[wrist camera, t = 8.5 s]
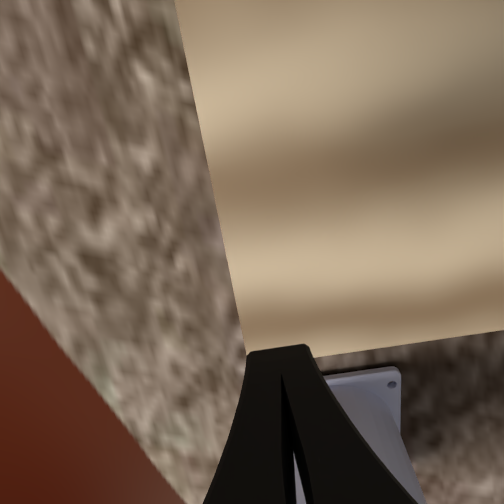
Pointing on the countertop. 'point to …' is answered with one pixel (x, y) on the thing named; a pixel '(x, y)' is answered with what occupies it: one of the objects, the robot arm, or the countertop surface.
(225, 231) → the board
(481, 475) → the countertop surface
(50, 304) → the countertop surface
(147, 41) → the countertop surface
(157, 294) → the countertop surface
